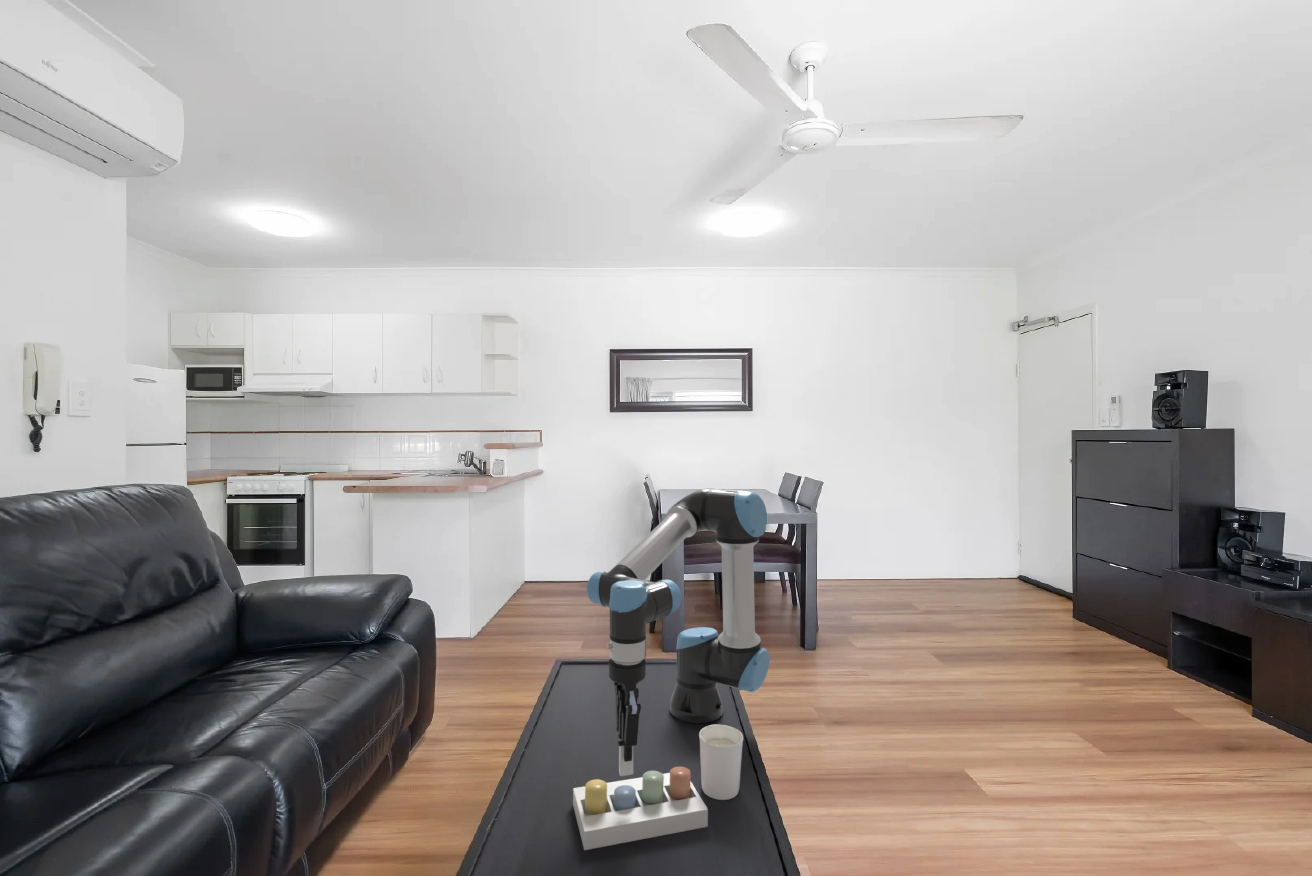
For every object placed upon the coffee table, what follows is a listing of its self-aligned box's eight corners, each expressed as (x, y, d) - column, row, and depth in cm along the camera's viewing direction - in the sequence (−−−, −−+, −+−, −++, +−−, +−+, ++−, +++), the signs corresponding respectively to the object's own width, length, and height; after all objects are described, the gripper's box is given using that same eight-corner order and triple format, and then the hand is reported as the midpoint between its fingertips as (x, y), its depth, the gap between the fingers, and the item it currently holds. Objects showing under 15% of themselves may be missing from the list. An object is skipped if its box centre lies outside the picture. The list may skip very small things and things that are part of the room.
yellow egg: (604, 799, 118) (604, 777, 118) (608, 813, 114) (609, 790, 114) (583, 803, 116) (583, 781, 117) (586, 816, 112) (587, 793, 112)
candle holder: (731, 808, 120) (732, 751, 121) (690, 792, 126) (691, 737, 126) (749, 785, 129) (750, 731, 129) (710, 771, 134) (711, 720, 134)
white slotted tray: (684, 786, 128) (684, 770, 128) (707, 826, 115) (707, 809, 115) (572, 804, 121) (573, 788, 121) (584, 850, 107) (584, 831, 107)
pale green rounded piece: (659, 790, 121) (660, 769, 121) (666, 803, 117) (666, 781, 117) (639, 793, 120) (640, 772, 120) (645, 806, 116) (645, 784, 116)
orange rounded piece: (686, 786, 123) (686, 765, 123) (693, 798, 119) (693, 776, 119) (666, 789, 122) (667, 768, 122) (673, 801, 118) (673, 779, 118)
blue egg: (632, 805, 119) (632, 783, 120) (637, 818, 115) (638, 796, 115) (611, 808, 118) (612, 786, 118) (616, 822, 114) (616, 799, 114)
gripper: (603, 648, 122) (601, 758, 122) (616, 673, 110) (615, 795, 110) (636, 645, 124) (635, 753, 124) (653, 668, 112) (652, 788, 112)
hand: (626, 772), depth 117 cm, fingers closed
